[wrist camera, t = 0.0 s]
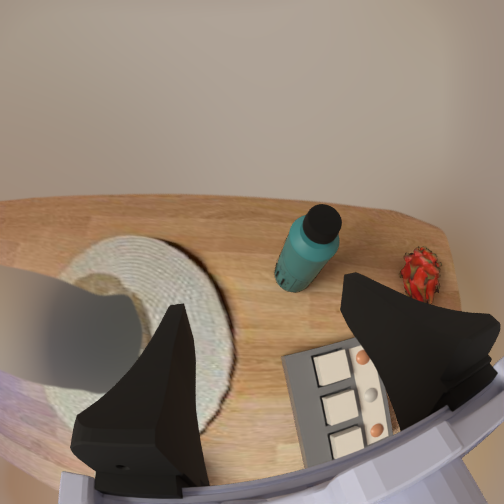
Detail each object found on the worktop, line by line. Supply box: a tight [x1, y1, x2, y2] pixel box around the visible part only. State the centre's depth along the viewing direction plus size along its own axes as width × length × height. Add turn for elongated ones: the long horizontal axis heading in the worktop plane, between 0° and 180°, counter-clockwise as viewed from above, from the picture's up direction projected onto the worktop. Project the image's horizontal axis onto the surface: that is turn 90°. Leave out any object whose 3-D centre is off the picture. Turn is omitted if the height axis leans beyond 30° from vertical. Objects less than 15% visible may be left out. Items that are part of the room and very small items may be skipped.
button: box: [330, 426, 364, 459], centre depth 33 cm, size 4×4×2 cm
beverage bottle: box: [274, 204, 342, 293], centre depth 38 cm, size 6×7×20 cm
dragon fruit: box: [400, 246, 442, 304], centre depth 45 cm, size 8×8×12 cm
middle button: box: [322, 389, 359, 426], centre depth 35 cm, size 4×4×2 cm
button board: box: [281, 337, 393, 469], centre depth 37 cm, size 20×15×3 cm
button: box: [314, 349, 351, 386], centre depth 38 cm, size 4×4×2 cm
